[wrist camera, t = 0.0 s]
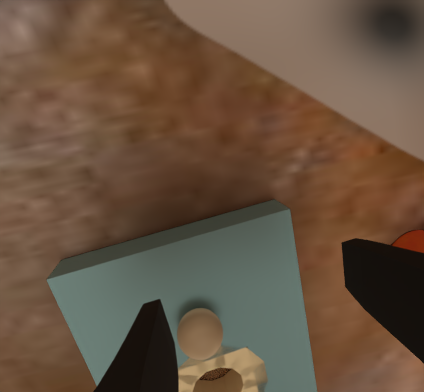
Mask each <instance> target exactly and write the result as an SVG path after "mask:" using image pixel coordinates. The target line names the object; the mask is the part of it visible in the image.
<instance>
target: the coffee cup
mask: <svg viewBox="0 0 424 392" xmlns="http://www.w3.org/2000/svg"><path fill="white" fill-rule="evenodd" d="M391 246H396V247H400V248H404V249H409V250H413V251H417V252H422V253H424V230H414V231H410V232H408V233H406V234H404V235H402V236H401V237H399V238H398V239H397V240H396V241H395V242H394V243H393V244H392V245H391Z"/></svg>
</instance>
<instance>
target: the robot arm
mask: <svg viewBox="0 0 424 392" xmlns="http://www.w3.org/2000/svg"><path fill="white" fill-rule="evenodd" d="M342 253H343V265H344V277H345V287H346V288H347V289H348V291H349V292H350V293H351V294H352V295H353V297H354V298H355V299H356V300H357V301H358V302H359V303H360V305H361V306H362V307H363V308H364V309H365V310H366V311H367V312H368V313H369V314H370V315H371V316H372V317H374V318H375V319H376V320H377V321H378V322H379V323H380V324H381V325H382V326H383V327H384V328H386V329H387V330H388V331H389V332H390V333H391V334H392V335H393V336H394V337H395V338H397V339H398V340H399V341H400V342H401V343H402V344H403V345H404V346H405V347H406V348H408V349H409V350H410V351H411V352H412V353H413V354H414V355H415V356H416V357H418V358H419V359H420V360H421V361H422V362H423V363H424V253H422V252H417V251H413V250H409V249H404V248H400V247H396V246H391V245H387V244H383V243H378V242H374V241H369V240H364V239H357V238H355V239H352V240H348V241H345V242H342ZM94 392H179V376H178V365H177V356H176V348H175V342H174V339H173V336H172V333H171V330H170V327H169V324H168V321H167V318H166V315H165V312H164V309H163V306H162V302H161V299H157V300H154V301H151V302H147V303H144V304H143V305H142V307H141V309H140V311H139V313H138V315H137V317H136V319H135V321H134V323H133V325H132V326H131V328H130V330H129V332H128V334H127V336H126V338H125V340H124V341H123V343H122V345H121V347H120V349H119V351H118V352H117V354H116V356H115V358H114V359H113V361H112V363H111V364H110V366H109V368H108V369H107V371H106V373H105V374H104V376H103V377H102V379H101V381H100V382H99V384H98V386H97V387H96V389H95V390H94Z"/></svg>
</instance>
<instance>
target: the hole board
mask: <svg viewBox="0 0 424 392" xmlns="http://www.w3.org/2000/svg"><path fill="white" fill-rule="evenodd" d="M47 282H48V284H49V286H50V288H51V290H52V292H53V295H54V297H55V299H56V301H57V303H58V305H59V307H60V309H61V311H62V313H63V316H64V318H65V320H66V322H67V324H68V326H69V328H70V330H71V332H72V334H73V337H74V339H75V341H76V343H77V345H78V347H79V349H80V351H81V353H82V355H83V358H84V360H85V362H86V364H87V366H88V368H89V370H90V372H91V374H92V376H93V379H94V381H95V383H96V385H97V386H98V384H99V382H100V381H101V379H102V377H103V376H104V374H105V373H106V371H107V369H108V368H109V366H110V364H111V363H112V361H113V359H114V358H115V356H116V354H117V352H118V351H119V349H120V347H121V345H122V343H123V341H124V340H125V338H126V336H127V334H128V332H129V330H130V328H131V326H132V325H133V323H134V321H135V319H136V317H137V315H138V313H139V311H140V309H141V307H142V305H143V304H144V303H147V302H151V301H154V300H157V299H161V302H162V306H163V309H164V312H165V315H166V318H167V321H168V324H169V327H170V330H171V333H172V336H173V339H174V342H175V348H176V356H177V365H178V376H179V392H317V387H316V380H315V374H314V367H313V360H312V354H311V347H310V340H309V333H308V327H307V320H306V313H305V307H304V300H303V293H302V286H301V280H300V273H299V266H298V260H297V253H296V246H295V240H294V233H293V226H292V219H291V213H290V209H289V208H288V207H286V206H285V205H283V204H281V203H280V202H278V201H277V200H275V199H274V200H270V201H267V202H263V203H260V204H256V205H253V206H249V207H246V208H242V209H239V210H235V211H232V212H228V213H225V214H221V215H218V216H214V217H211V218H207V219H204V220H200V221H197V222H193V223H190V224H186V225H183V226H179V227H176V228H172V229H169V230H165V231H161V232H158V233H154V234H151V235H147V236H144V237H140V238H137V239H133V240H130V241H126V242H123V243H119V244H116V245H112V246H109V247H105V248H102V249H98V250H95V251H91V252H88V253H84V254H81V255H77V256H74V257H70V258H67V259H63V260H61V261H60V262H59V264H58V265H57V266H56V268H55V269H54V270H53V272H52V273H51V274H50V276H49V277H48V278H47ZM196 308H205V309H208V310H210V311H212V312H213V313H215V314H216V315H217V317H218V318H219V320H220V321H221V324H222V328H223V340H222V343H221V345H220V347H219V349H218V351H217V352H216V353H215V354H214V355H213V356H211V357H209V358H207V359H204V360H195V359H192V358H190V357H188V356H187V355H186V354H185V353H184V352H183V351H182V350H181V348H180V346H179V344H178V340H177V329H178V325H179V323H180V321H181V319H182V318H183V316H184V315H185V314H186V313H187V312H189V311H191V310H193V309H196ZM219 367H221V368H232V369H231V370H230V371H229V372H227V373H226V374H225V375H224V376H223V377H220V378H218V379H215V380H212V381H209V380H200V379H199V378H200V377H201V376H202V375H204V374H205V373H206V372H208V371H211V370H214V369H216V368H219Z"/></svg>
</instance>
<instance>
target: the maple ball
mask: <svg viewBox="0 0 424 392" xmlns="http://www.w3.org/2000/svg"><path fill="white" fill-rule="evenodd" d="M177 340H178V344H179V346H180V348H181V350H182V351H183V352H184V353H185V354H186V355H187V356H188V357H190V358H192V359H195V360H204V359H207V358H209V357H211V356H213V355H214V354H215V353H216V352H217V351H218V349H219V347H220V345H221V343H222V340H223V328H222V324H221V321H220V320H219V318H218V317H217V315H216V314H215V313H213V312H212V311H210V310H208V309H205V308H196V309H193V310H191V311H189V312H187V313H186V314H185V315H184V316H183V318H182V319H181V321H180V323H179V325H178V329H177Z"/></svg>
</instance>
